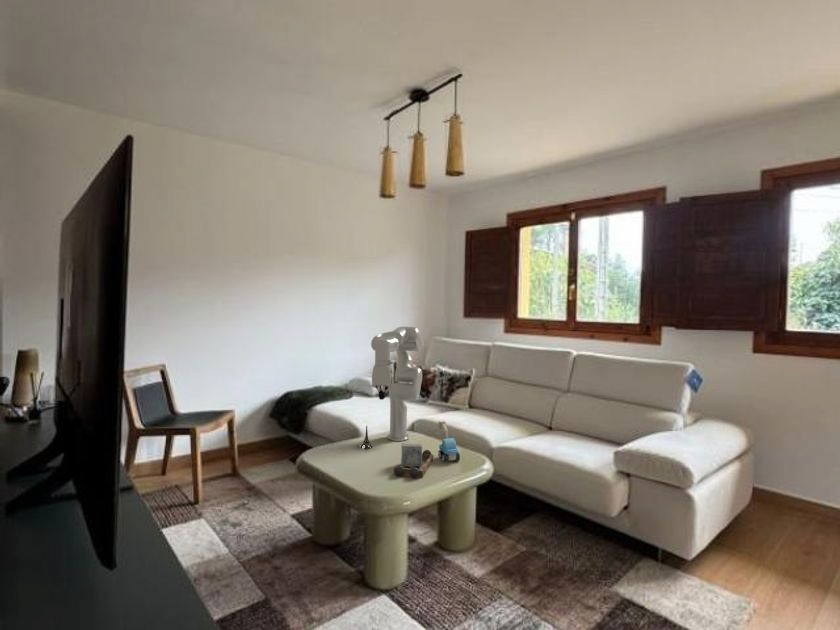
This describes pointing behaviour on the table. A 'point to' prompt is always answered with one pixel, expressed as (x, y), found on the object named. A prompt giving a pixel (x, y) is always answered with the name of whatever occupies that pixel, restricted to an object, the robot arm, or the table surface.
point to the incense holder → (411, 455)
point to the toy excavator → (447, 446)
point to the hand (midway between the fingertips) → (381, 399)
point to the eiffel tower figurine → (366, 442)
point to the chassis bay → (415, 471)
